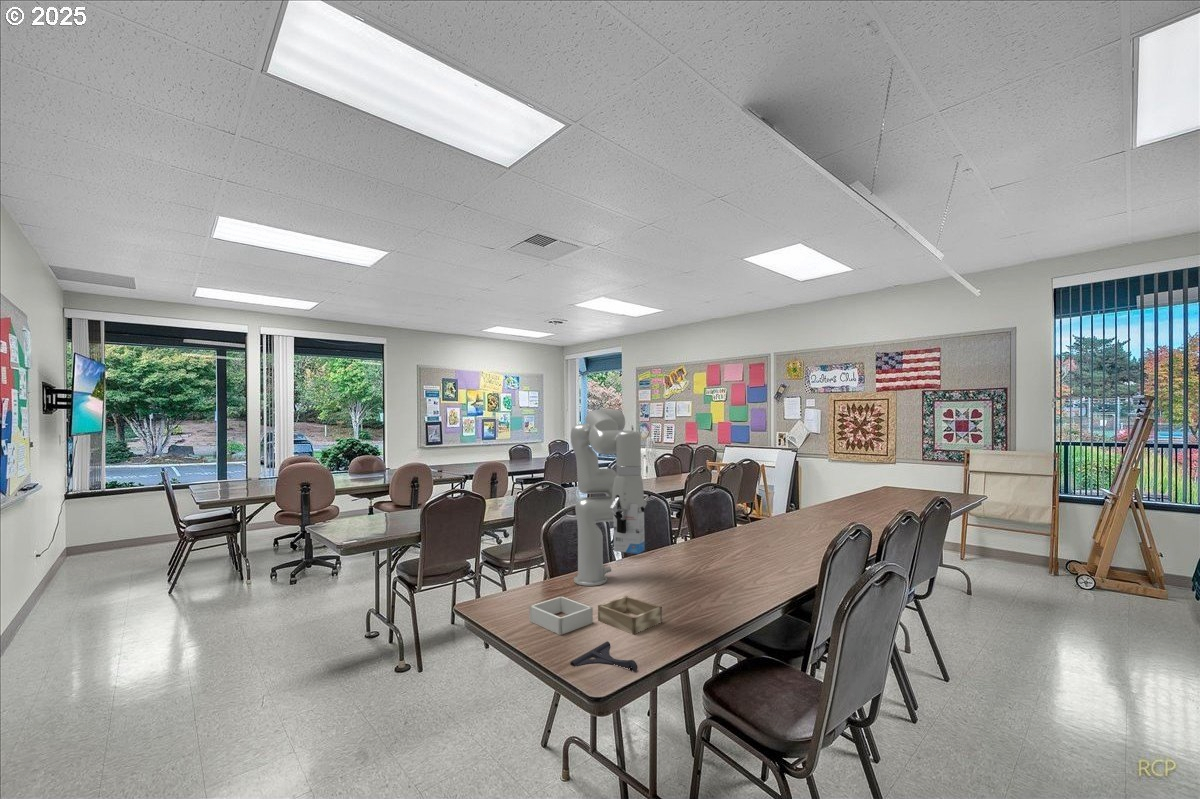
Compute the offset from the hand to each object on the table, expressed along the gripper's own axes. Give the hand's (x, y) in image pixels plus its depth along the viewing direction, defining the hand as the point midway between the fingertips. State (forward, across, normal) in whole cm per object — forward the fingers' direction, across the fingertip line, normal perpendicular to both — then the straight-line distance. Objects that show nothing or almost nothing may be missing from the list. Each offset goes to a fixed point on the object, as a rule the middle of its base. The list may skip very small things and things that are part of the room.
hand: (629, 530), depth 155 cm
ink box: (+6, 0, 0) cm, 6 cm away
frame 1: (+27, +15, -14) cm, 34 cm away
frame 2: (+27, 0, 0) cm, 27 cm away
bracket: (+28, +23, +15) cm, 39 cm away
